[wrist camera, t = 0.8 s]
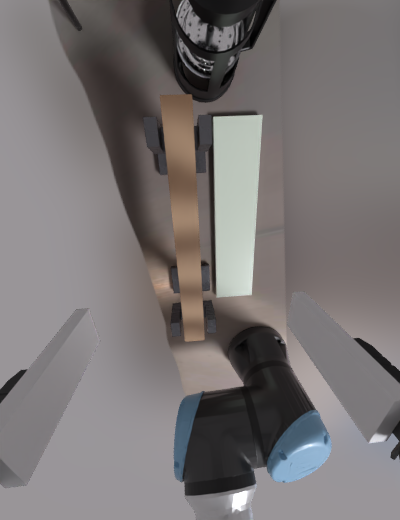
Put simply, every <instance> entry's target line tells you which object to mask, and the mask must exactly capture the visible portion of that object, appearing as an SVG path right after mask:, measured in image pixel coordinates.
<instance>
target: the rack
mask: <svg viewBox="0 0 400 520" xmlns="http://www.w3.org/2000/svg"><path fill="white" fill-rule="evenodd" d="M143 120H144V128H145V135H146V143H147V147H148V148H149V149H150V150H151V151H152V152H153V153H154V154H158V161H159V169H160V175H167V174H168V170H167V160H166V151H165V141H164V131H163V127H160V125H159V122H158V120H157V118H156V117H143ZM194 142H195V161H196V173H205V172H206V159H205V152H207V151H208V149H209V148H210V146H211V145H212V120H211V115H199V117H198V122H197V126H194ZM171 272H172V281H173V289H174V293H180V287H179V277H178V268H177V266H171ZM201 278H202V291H210V278H209V264H201ZM203 316H204V318H205V317H206V323H207V330H208V333H216V318H215V314H214V309H213V305H212V300H209V301H203ZM182 319H183V316H182V307H181V303H173V306H172V316H171V330H172V337H174V336H181V320H182Z"/></svg>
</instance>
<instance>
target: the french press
mask: <svg viewBox="0 0 400 520" xmlns="http://www.w3.org/2000/svg"><path fill="white" fill-rule="evenodd" d="M275 2H276V0H263V1H262V0H182V2H181V3H180V5H179V8H178V11H177V14H175V10H174V7H173V3H172V0H170V11H171V22H172V34H173V45H174V70H175V75H176V78H177V81H178V83H179V85H180V87H181V88H182V89H183V91H184V92H185V93H186V94H192V99H194V100H196V101H199V102H205V103H206V102H212V101H215V100H217V99H218V98H220V97H221V96H222V95H223V94H224V93H225V92H226V91H227V90H228V88H229V87H230V84H231V82H232V80H233V77H234V73H235V69H236V67H237V63H238V59H239V55H240V52H242V51H246V50H250V49H252V48H253V47H254V45H255V43H256V41H257V39H258V37H259V35H260V33H261V31H262V29H263V27H264V25H265V23H266V21H267V19H268V17H269V14H270V12H271V10H272V8H273V6H274V4H275ZM255 11H256V14H255ZM254 14H255V18H254V22H253V25H252V27H251V29H250V30H249V31H248V28H249V26H250V24H251V21H252V19H253V16H254ZM247 31H248V32H247ZM182 60H183V62H184V63H185V65H186V66H187V67H188V68H189V69H190V70H191V71H192V72H193V73H194V74H196V75H197V76H199V77H202V78H205V79H210V81H209V86H208V90H201V89H199V88H196V87H195V86H193V85H192V84H190V83H189V81H188V80H187V78H186V76H185V74H184V70H183V66H182ZM225 73H226V75H225V77H224V74H225ZM223 77H224V79H223ZM222 79H223V81H222Z"/></svg>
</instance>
